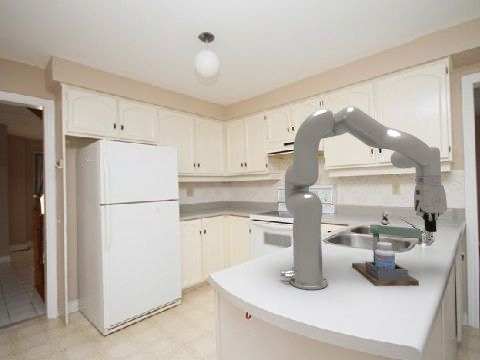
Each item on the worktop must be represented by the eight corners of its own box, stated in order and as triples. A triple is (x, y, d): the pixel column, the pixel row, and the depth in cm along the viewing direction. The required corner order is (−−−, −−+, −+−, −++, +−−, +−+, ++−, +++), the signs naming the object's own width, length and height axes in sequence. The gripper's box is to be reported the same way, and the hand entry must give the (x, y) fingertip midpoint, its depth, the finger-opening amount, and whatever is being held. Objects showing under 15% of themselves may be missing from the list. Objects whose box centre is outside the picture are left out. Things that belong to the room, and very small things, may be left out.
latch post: (375, 265, 102) (374, 234, 102) (372, 263, 104) (371, 233, 105) (381, 265, 102) (380, 234, 102) (378, 263, 104) (377, 232, 105)
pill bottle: (373, 276, 90) (372, 244, 90) (377, 271, 95) (376, 240, 95) (394, 280, 86) (392, 246, 86) (397, 275, 91) (395, 242, 91)
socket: (378, 281, 86) (377, 270, 86) (365, 271, 95) (365, 261, 95) (408, 280, 85) (407, 270, 85) (392, 271, 95) (392, 261, 95)
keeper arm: (368, 232, 104) (368, 225, 104) (373, 231, 106) (372, 224, 106) (417, 238, 90) (417, 230, 91) (421, 237, 93) (421, 228, 93)
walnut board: (374, 285, 86) (374, 281, 86) (352, 266, 106) (352, 263, 106) (418, 285, 85) (418, 280, 85) (387, 266, 105) (387, 262, 105)
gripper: (420, 181, 90) (422, 234, 90) (455, 180, 93) (457, 231, 93) (402, 182, 97) (404, 231, 97) (435, 181, 100) (437, 228, 100)
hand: (430, 231), depth 95 cm, fingers closed
